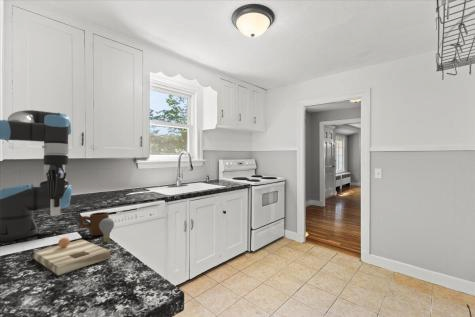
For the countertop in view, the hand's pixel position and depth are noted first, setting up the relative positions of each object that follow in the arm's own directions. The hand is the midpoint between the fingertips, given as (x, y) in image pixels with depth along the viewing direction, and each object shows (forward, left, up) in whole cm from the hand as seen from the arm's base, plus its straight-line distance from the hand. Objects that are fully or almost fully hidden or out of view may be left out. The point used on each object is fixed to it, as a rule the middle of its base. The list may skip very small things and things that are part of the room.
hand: (55, 215), depth 88 cm
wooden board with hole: (+16, 0, -13) cm, 20 cm away
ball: (+9, 0, -9) cm, 12 cm away
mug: (-7, +17, -13) cm, 23 cm away
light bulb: (+9, +15, -13) cm, 22 cm away
